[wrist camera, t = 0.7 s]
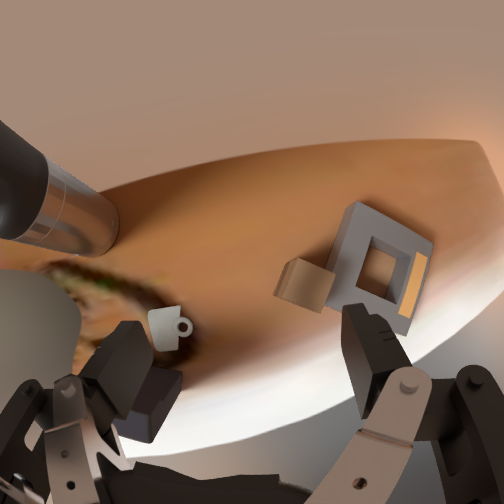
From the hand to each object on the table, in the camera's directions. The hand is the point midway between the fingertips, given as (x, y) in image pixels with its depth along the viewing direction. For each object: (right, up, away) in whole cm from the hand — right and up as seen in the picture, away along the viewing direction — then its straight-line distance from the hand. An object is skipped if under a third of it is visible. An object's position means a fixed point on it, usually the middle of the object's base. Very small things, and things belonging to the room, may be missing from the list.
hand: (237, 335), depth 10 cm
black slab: (-15, -14, +24) cm, 31 cm away
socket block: (+18, 0, +26) cm, 32 cm away
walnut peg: (+6, -1, +26) cm, 27 cm away
